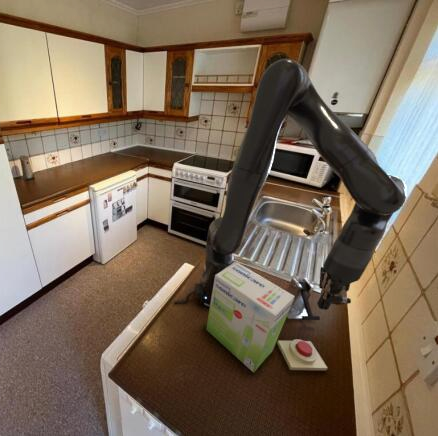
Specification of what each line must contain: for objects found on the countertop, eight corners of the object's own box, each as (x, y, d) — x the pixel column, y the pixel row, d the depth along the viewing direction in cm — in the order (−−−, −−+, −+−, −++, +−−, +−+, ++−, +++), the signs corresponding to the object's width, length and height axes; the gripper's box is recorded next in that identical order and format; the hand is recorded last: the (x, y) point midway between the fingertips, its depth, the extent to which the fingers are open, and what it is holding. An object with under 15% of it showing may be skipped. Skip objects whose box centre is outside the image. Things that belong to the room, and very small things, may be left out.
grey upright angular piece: (310, 320, 82) (324, 294, 75) (287, 320, 82) (299, 293, 75) (294, 298, 90) (306, 272, 84) (273, 297, 90) (283, 272, 84)
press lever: (317, 320, 76) (321, 319, 74) (301, 320, 76) (305, 319, 74) (305, 283, 82) (309, 281, 80) (290, 283, 82) (294, 281, 80)
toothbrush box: (203, 329, 78) (214, 273, 66) (223, 314, 84) (237, 259, 72) (252, 375, 66) (276, 316, 54) (271, 353, 71) (297, 295, 60)
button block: (289, 371, 67) (293, 363, 65) (275, 344, 74) (279, 336, 72) (324, 372, 67) (330, 364, 65) (308, 345, 74) (312, 337, 72)
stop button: (300, 356, 67) (302, 352, 66) (293, 344, 70) (295, 340, 69) (313, 356, 67) (315, 353, 66) (305, 344, 70) (307, 341, 69)
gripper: (382, 278, 51) (348, 331, 59) (353, 244, 62) (328, 292, 71) (342, 272, 53) (314, 323, 61) (321, 240, 64) (300, 287, 72)
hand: (321, 307), depth 66 cm, fingers closed
